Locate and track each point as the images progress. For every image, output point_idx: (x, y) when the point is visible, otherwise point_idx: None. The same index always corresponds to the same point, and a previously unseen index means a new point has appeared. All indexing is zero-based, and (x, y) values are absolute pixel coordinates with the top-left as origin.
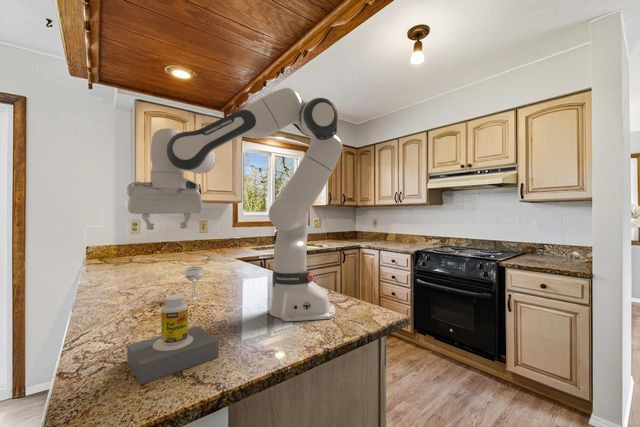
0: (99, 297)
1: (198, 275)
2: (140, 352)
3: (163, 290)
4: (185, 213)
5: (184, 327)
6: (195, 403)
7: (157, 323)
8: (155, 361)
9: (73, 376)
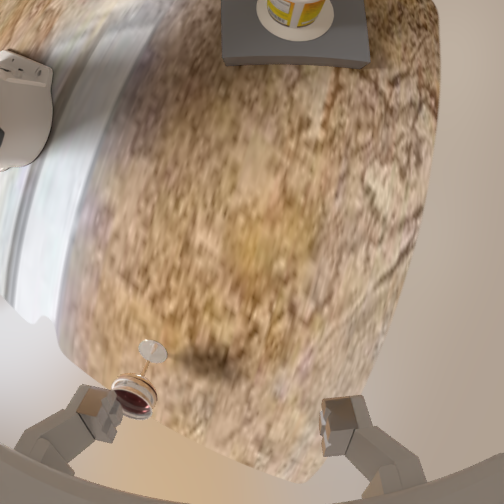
0: (306, 447)
1: (125, 376)
2: (355, 14)
3: (200, 431)
4: (40, 463)
5: None
6: None
7: (265, 238)
8: None
9: (425, 88)
